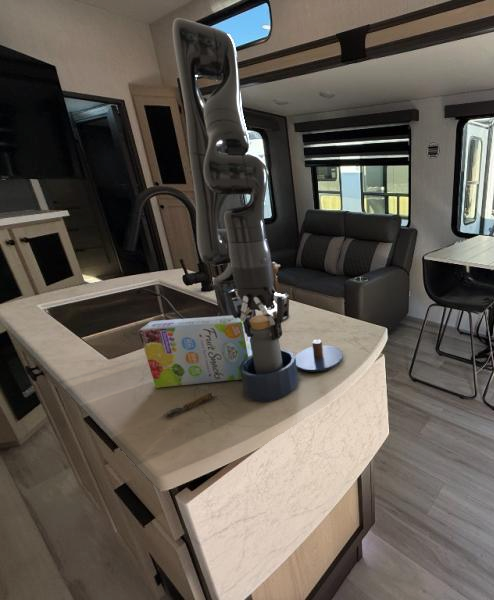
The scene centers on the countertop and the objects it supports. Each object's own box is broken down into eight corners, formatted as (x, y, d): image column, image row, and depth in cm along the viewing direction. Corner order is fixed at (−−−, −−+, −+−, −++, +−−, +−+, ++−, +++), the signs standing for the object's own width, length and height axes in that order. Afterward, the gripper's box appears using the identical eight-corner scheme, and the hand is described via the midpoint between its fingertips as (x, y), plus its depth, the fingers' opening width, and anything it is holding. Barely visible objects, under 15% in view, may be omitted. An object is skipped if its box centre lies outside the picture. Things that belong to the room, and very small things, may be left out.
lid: (284, 369, 80) (281, 350, 78) (310, 346, 92) (307, 328, 90) (329, 377, 77) (327, 356, 75) (350, 352, 89) (349, 333, 87)
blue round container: (233, 397, 70) (227, 371, 68) (266, 369, 81) (262, 346, 78) (278, 405, 67) (274, 379, 65) (307, 375, 78) (304, 352, 76)
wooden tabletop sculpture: (279, 313, 115) (272, 259, 108) (291, 314, 114) (284, 260, 107) (270, 320, 110) (262, 263, 103) (282, 321, 109) (274, 264, 102)
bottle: (275, 386, 70) (265, 325, 65) (251, 383, 71) (240, 322, 66) (289, 372, 76) (280, 314, 70) (266, 369, 77) (257, 312, 71)
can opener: (212, 396, 70) (211, 392, 70) (214, 401, 68) (213, 397, 68) (162, 414, 65) (161, 410, 64) (164, 420, 63) (162, 416, 63)
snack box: (257, 367, 82) (247, 313, 76) (252, 379, 76) (241, 322, 71) (166, 375, 78) (149, 319, 73) (154, 389, 73) (135, 329, 68)
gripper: (293, 260, 66) (302, 333, 71) (235, 256, 69) (248, 326, 75) (271, 269, 59) (282, 349, 65) (207, 264, 62) (224, 341, 68)
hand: (264, 336), depth 70 cm, fingers closed on bottle, 5 cm apart
